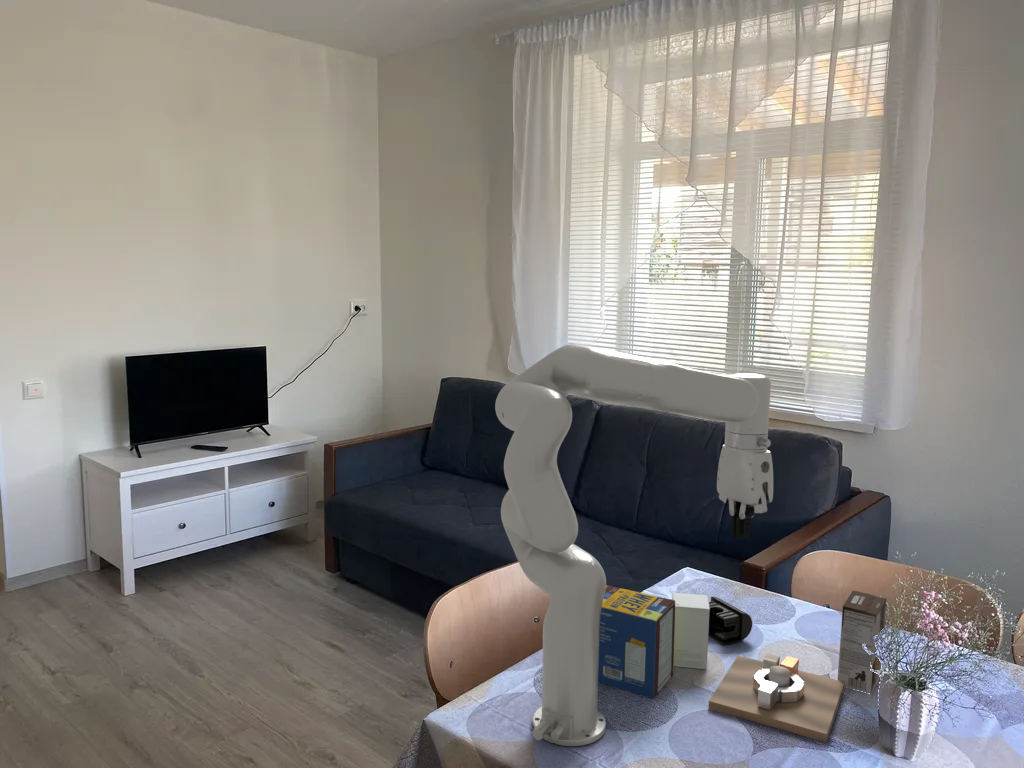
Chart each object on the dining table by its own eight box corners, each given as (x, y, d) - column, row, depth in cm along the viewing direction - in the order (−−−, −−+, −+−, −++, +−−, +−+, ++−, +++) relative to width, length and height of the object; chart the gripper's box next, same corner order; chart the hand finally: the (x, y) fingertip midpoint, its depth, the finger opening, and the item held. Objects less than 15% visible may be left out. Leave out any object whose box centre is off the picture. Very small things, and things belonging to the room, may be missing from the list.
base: (826, 742, 133) (828, 711, 132) (708, 708, 143) (709, 679, 142) (844, 689, 150) (846, 661, 149) (737, 662, 160) (739, 636, 159)
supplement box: (707, 670, 157) (710, 609, 155) (669, 666, 158) (671, 606, 157) (706, 653, 164) (708, 594, 162) (669, 649, 166) (671, 591, 164)
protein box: (601, 655, 162) (603, 583, 160) (673, 676, 155) (677, 600, 152) (578, 677, 154) (580, 601, 151) (654, 700, 146) (657, 620, 144)
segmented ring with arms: (787, 716, 138) (788, 699, 137) (740, 700, 143) (741, 683, 142) (814, 680, 150) (815, 664, 150) (770, 666, 155) (771, 651, 155)
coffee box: (847, 666, 159) (852, 589, 157) (881, 676, 155) (888, 597, 153) (835, 685, 152) (841, 604, 149) (871, 696, 148) (878, 613, 146)
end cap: (752, 641, 170) (753, 611, 169) (726, 647, 167) (727, 617, 166) (720, 622, 179) (721, 593, 178) (695, 628, 175) (696, 599, 174)
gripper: (792, 446, 142) (786, 545, 144) (729, 431, 154) (724, 523, 157) (763, 450, 138) (757, 552, 140) (701, 435, 150) (697, 528, 153)
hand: (740, 536), depth 149 cm, fingers closed
